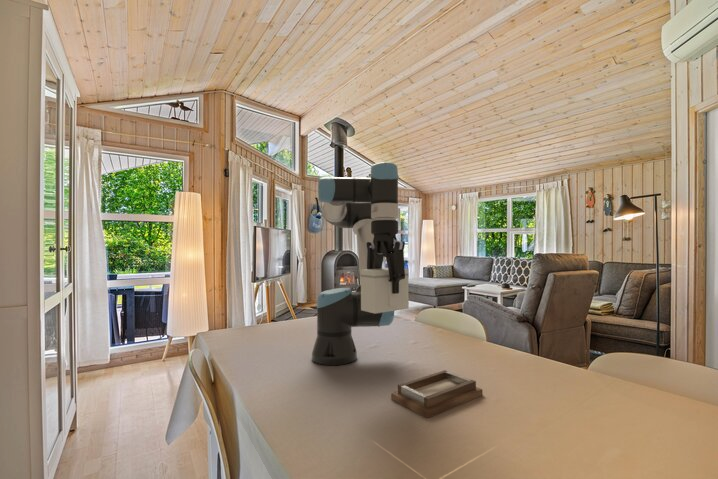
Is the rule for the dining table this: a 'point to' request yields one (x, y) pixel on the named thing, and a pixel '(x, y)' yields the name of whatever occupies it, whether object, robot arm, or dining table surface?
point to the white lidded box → (381, 291)
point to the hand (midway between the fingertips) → (385, 303)
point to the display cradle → (436, 393)
